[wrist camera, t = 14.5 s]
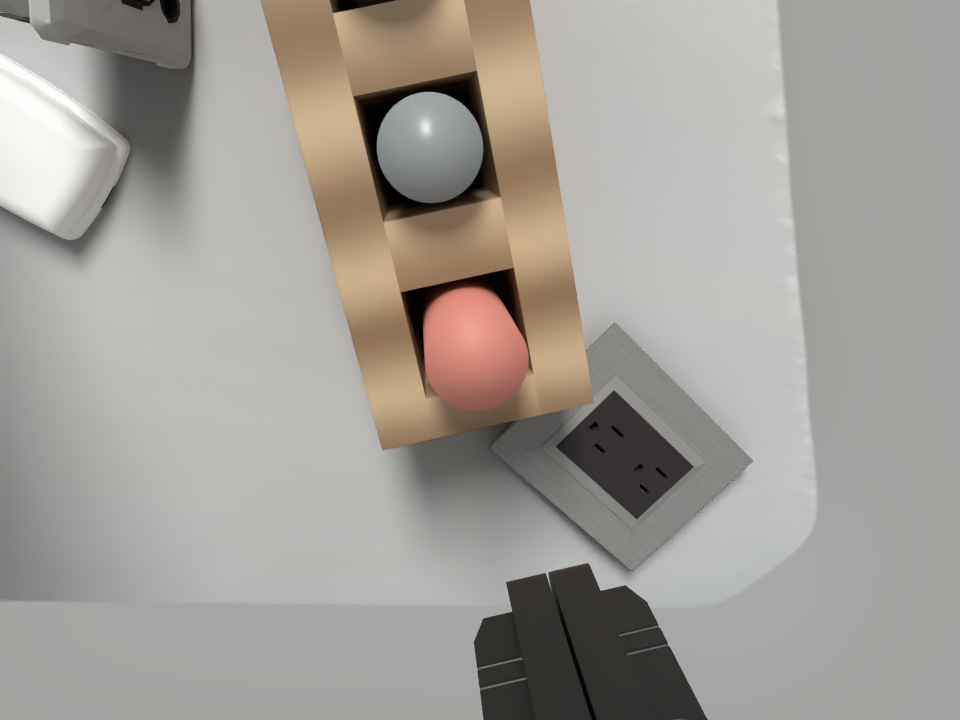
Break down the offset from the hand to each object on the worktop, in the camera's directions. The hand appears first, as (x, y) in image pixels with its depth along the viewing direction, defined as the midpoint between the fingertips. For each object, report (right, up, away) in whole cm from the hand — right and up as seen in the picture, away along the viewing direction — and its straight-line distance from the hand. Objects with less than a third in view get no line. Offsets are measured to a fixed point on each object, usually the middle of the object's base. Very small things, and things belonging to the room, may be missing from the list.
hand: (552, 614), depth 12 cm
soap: (-25, +16, +24) cm, 38 cm away
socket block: (-4, +16, +25) cm, 30 cm away
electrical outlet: (+7, -1, +32) cm, 33 cm away
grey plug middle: (-4, +15, +23) cm, 28 cm away
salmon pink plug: (-2, +7, +24) cm, 25 cm away
